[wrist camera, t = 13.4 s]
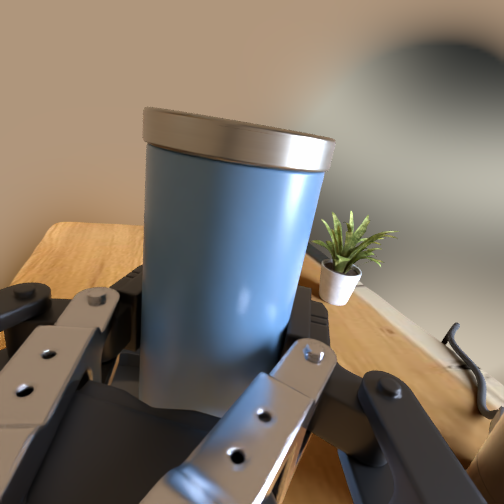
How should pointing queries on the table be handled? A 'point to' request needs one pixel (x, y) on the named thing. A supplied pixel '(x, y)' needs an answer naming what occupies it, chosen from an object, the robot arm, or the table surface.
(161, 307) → the canister
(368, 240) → the house plant
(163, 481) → the robot arm
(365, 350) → the table surface
